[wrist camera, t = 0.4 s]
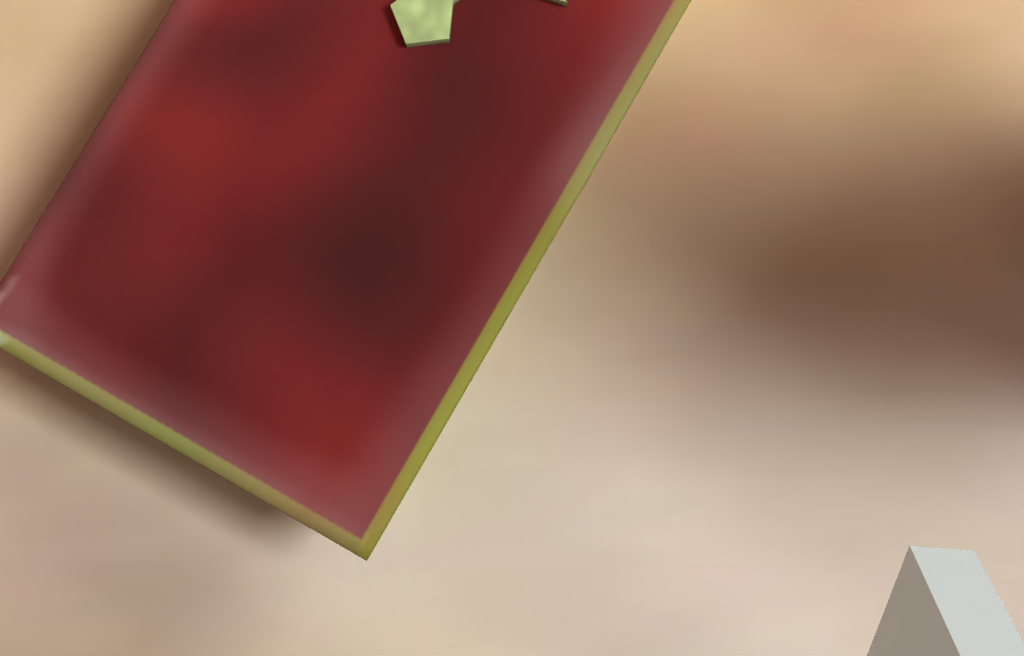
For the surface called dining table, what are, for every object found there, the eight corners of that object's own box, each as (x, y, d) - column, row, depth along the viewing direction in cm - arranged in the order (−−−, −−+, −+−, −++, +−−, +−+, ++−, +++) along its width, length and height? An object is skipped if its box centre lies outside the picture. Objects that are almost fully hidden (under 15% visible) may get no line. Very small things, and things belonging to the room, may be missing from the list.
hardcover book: (32, 331, 28) (-50, 322, 24) (393, -258, 29) (377, -365, 25) (383, 535, 28) (365, 562, 24) (730, -64, 29) (771, -139, 25)
